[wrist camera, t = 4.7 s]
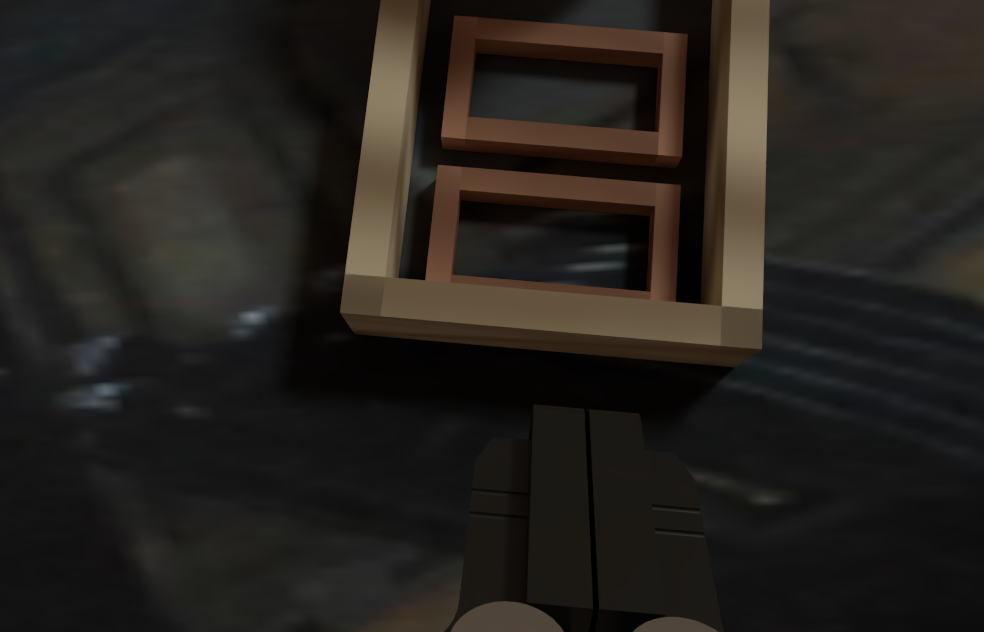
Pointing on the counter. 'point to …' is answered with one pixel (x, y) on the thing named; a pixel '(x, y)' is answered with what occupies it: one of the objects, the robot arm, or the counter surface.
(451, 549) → the counter surface
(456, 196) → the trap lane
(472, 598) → the robot arm
